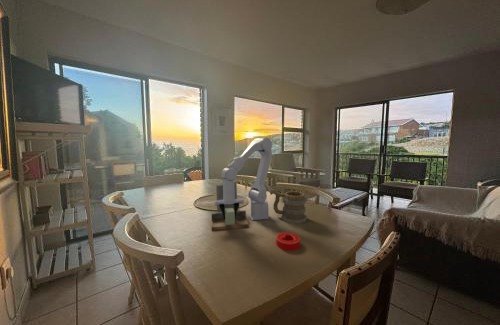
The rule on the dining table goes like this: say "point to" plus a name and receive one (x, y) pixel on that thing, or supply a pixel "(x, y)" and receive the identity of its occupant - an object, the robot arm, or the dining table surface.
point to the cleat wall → (219, 223)
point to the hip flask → (220, 195)
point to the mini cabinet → (229, 216)
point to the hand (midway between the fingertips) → (229, 218)
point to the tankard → (291, 206)
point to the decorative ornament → (288, 241)
